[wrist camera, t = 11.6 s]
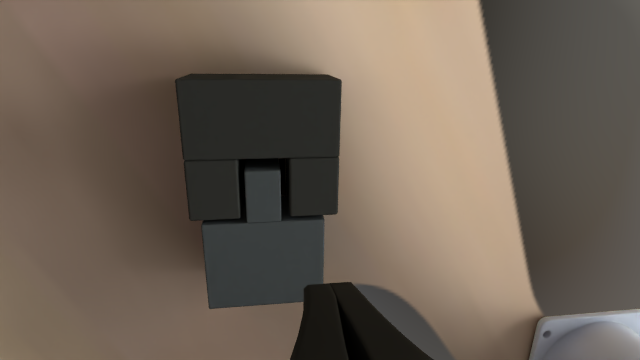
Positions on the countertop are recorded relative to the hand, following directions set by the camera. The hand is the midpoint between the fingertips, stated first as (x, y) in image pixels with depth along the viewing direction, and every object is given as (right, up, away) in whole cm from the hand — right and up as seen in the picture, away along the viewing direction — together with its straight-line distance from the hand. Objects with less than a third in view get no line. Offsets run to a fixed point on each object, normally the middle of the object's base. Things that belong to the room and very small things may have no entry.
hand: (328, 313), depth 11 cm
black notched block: (-3, +6, +7) cm, 10 cm away
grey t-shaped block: (-3, +2, +8) cm, 9 cm away
